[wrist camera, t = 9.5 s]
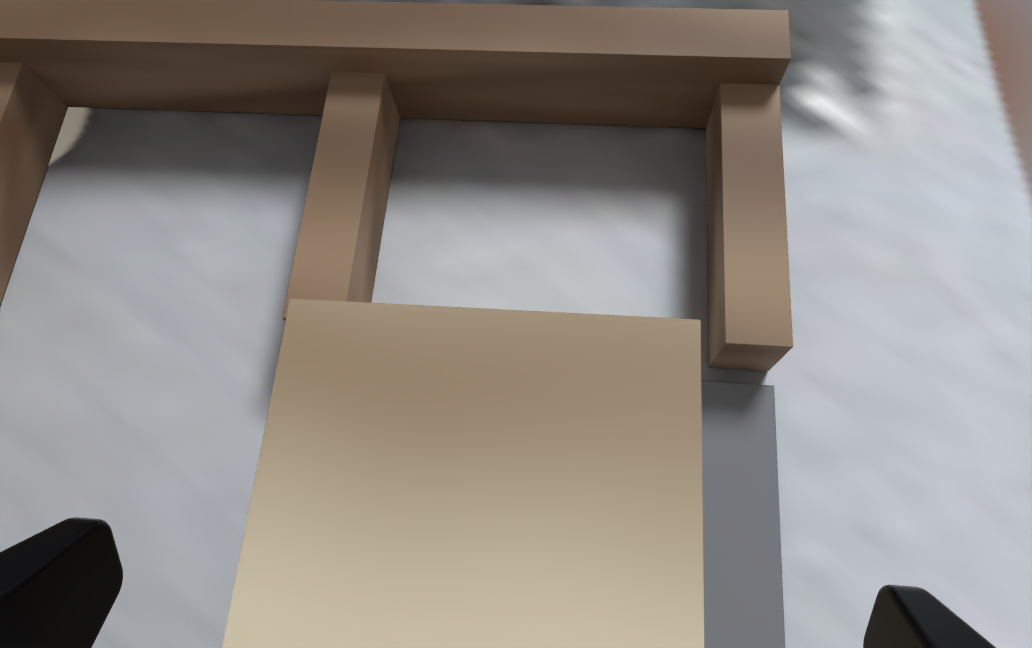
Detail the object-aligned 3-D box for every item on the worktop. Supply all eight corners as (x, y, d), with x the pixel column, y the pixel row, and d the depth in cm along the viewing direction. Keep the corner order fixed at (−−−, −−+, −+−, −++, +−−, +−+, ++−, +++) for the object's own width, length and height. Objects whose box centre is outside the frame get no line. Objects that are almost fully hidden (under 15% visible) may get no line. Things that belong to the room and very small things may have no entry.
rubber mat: (786, 805, 15) (792, 811, 15) (234, 747, 16) (226, 751, 16) (769, 389, 18) (773, 386, 18) (306, 361, 19) (300, 356, 19)
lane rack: (768, 370, 18) (807, 332, 15) (-58, 321, 20) (-160, 278, 17) (756, 78, 21) (787, 1, 18) (39, 58, 23) (-34, -16, 20)
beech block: (616, 672, 16) (706, 813, 6) (410, 654, 16) (199, 761, 7) (622, 461, 17) (700, 319, 8) (433, 449, 18) (290, 298, 8)
